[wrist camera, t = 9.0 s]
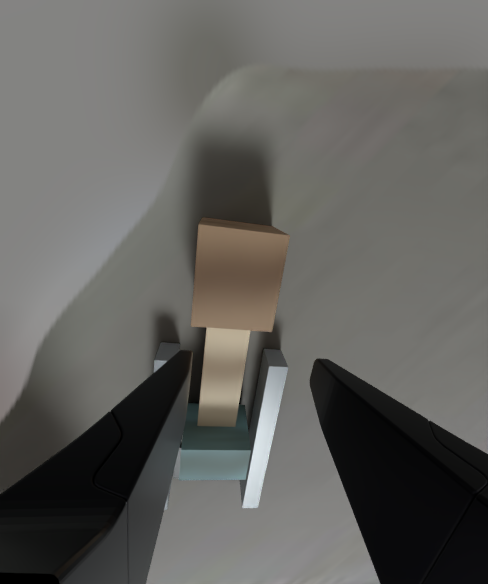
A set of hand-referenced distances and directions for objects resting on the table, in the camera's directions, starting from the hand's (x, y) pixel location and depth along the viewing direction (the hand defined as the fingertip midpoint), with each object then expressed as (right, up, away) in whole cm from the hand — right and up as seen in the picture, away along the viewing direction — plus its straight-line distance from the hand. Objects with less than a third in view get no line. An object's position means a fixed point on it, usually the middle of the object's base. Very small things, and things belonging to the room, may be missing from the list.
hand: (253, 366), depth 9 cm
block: (-1, +5, +11) cm, 12 cm away
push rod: (-2, -4, +13) cm, 14 cm away
